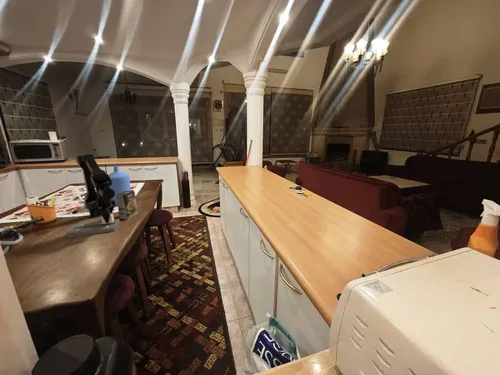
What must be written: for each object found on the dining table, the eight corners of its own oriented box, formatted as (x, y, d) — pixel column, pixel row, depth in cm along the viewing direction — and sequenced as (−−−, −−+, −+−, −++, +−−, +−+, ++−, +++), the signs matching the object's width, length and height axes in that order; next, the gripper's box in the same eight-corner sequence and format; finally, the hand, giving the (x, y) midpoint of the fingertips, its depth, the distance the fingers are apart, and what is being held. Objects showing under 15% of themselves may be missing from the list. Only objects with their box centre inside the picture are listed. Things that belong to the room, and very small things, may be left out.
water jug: (126, 205, 160) (120, 168, 153) (105, 205, 161) (97, 168, 153) (137, 198, 175) (131, 164, 168) (117, 198, 176) (111, 164, 168)
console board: (76, 227, 126) (75, 223, 126) (119, 221, 133) (119, 218, 133) (67, 237, 114) (66, 233, 114) (114, 230, 121) (114, 227, 121)
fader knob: (104, 222, 126) (103, 214, 125) (114, 221, 128) (113, 213, 127) (102, 225, 123) (101, 217, 121) (112, 224, 124) (111, 215, 123)
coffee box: (128, 219, 136) (124, 194, 132) (119, 218, 138) (115, 194, 133) (138, 214, 145) (134, 190, 141) (129, 213, 146) (126, 190, 142)
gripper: (91, 192, 127) (96, 217, 131) (79, 202, 110) (86, 230, 114) (113, 190, 130) (118, 214, 135) (105, 199, 113) (110, 227, 118)
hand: (108, 221), depth 125 cm, fingers closed on fader knob, 4 cm apart
